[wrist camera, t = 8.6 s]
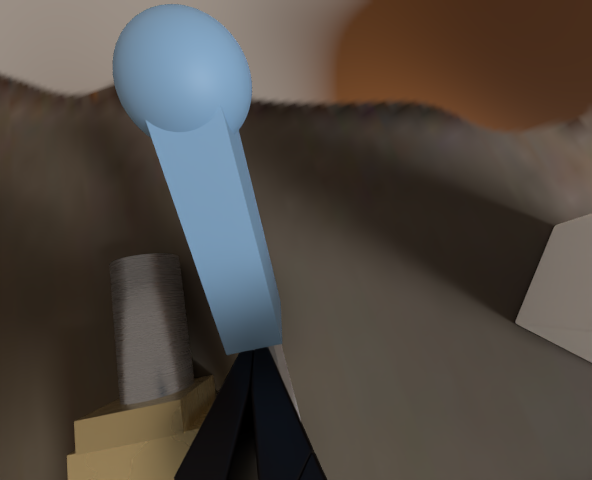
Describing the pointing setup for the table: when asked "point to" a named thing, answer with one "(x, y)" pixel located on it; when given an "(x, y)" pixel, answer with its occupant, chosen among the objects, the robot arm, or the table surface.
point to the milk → (563, 289)
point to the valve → (145, 380)
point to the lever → (205, 162)
